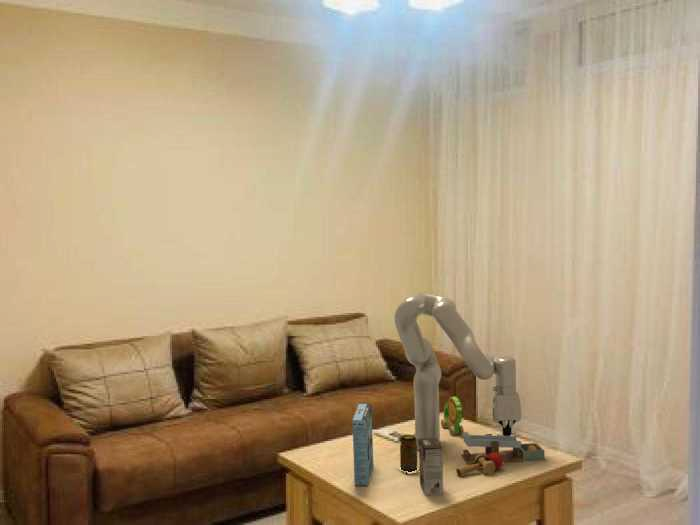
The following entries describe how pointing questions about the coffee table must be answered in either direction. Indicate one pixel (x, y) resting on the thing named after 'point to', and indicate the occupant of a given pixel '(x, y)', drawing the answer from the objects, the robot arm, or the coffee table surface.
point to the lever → (487, 440)
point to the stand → (506, 456)
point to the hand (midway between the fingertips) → (507, 436)
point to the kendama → (483, 464)
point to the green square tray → (531, 452)
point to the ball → (531, 448)
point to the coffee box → (431, 466)
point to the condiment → (408, 453)
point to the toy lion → (453, 416)
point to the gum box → (362, 444)
